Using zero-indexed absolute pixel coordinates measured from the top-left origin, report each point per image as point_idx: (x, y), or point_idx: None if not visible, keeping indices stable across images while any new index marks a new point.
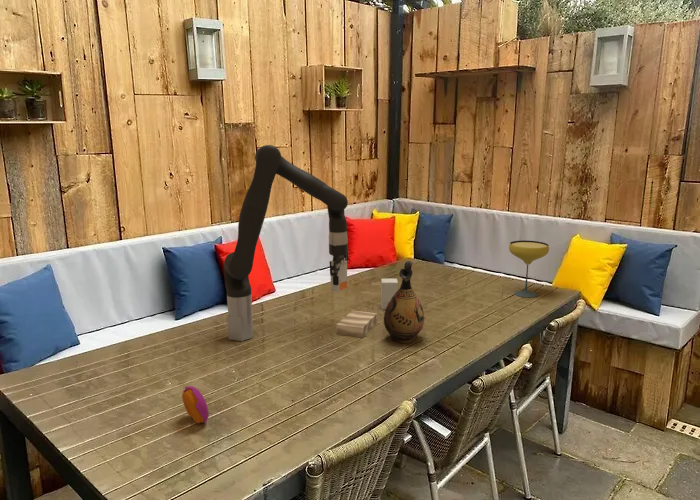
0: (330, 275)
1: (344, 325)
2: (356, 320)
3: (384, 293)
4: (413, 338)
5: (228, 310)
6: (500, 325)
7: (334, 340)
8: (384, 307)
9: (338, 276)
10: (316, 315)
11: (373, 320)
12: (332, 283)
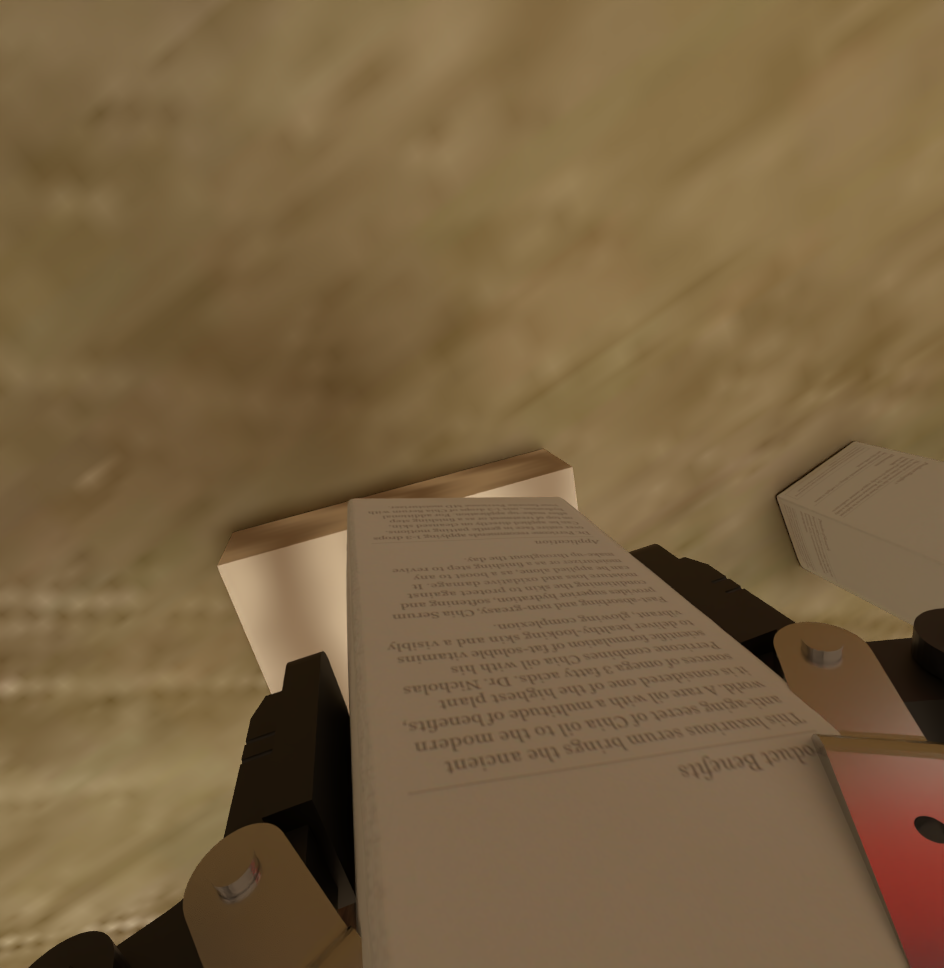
0: (46, 954)
1: (242, 624)
2: None
3: (883, 553)
4: None
5: None
6: None
7: (119, 594)
8: (790, 514)
9: (349, 894)
10: (487, 128)
11: None
12: (349, 599)
